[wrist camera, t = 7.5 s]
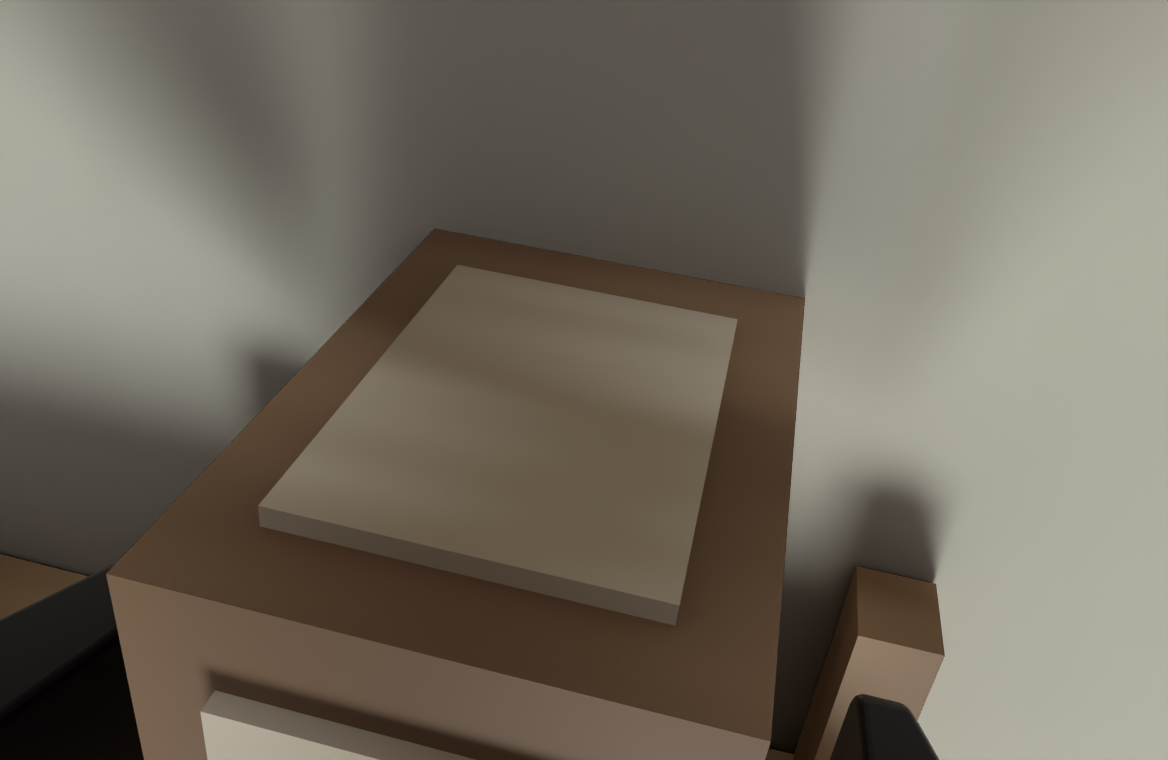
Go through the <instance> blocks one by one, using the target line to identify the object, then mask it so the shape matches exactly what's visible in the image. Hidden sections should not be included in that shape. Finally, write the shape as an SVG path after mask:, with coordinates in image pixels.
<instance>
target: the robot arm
mask: <svg viewBox="0 0 1168 760" xmlns="http://www.w3.org/2000/svg"><path fill="white" fill-rule="evenodd" d="M116 563H117V562H116ZM116 563H114V564H112V565H110V566H108V567H106V568H104V569H102V570H100V571H98V572H96V573H94V574H92V575H90V576H88V577H86V578H83V579H81V580H79V581H77V582H75V583H73V584H71V585H69V586H67V587H65V588H63V589H61V590H59V591H57V592H55V593H53V594H51V595H49V596H47V597H45V598H43V599H41V600H39V601H36V602H34V603H32V604H30V605H28V606H26V607H24V608H22V609H20V610H18V611H16V612H14V613H12V614H10V615H8V616H6V617H4V618H2V619H0V760H144V757H143V752H142V747H141V742H140V737H139V733H138V728H137V723H136V718H135V713H134V708H133V703H132V698H131V693H130V688H129V684H128V679H127V674H126V669H125V664H124V659H123V654H122V649H121V644H120V640H119V635H118V630H117V625H116V620H115V615H114V610H113V605H112V600H111V596H110V591H109V586H108V581H107V576H106V573H107V572H108V571H109V570H110V569H111V568H112V567H113V566H114V565H115V564H116ZM830 760H939V758H938V757H937V755H936V753H935V751H934V750H933V748H932V746H931V744H930V743H929V741H928V739H927V737H926V736H925V734H924V732H923V730H922V729H921V727H920V725H919V723H918V722H917V720H916V718H915V716H914V715H913V713H912V712H911V710H910V709H909V708H908V707H907V706H905V705H904V704H902V703H899V702H895V701H891V700H887V699H883V698H879V697H875V696H870V695H866V694H859V695H856V696H855V697H854V698H853V700H852V701H851V703H850V705H849V708H848V710H847V713H846V716H845V719H844V721H843V724H842V727H841V730H840V732H839V735H838V738H837V740H836V743H835V746H834V749H833V751H832V754H831V757H830Z"/></svg>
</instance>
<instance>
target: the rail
mask: <svg viewBox="0 0 1168 760" xmlns="http://www.w3.org/2000/svg"><path fill="white" fill-rule="evenodd" d="M86 577H88V576H85V575H81V574H77V573H73V572H69V571H65V570H61V569H57V568H53V567H49V566H45V565H41V564H37V563H33V562H30V561H26V560H22V559H18V558H14V557H10V556H6V555H2V554H0V619H2V618H4V617H6V616H8V615H10V614H12V613H14V612H16V611H18V610H20V609H22V608H24V607H26V606H28V605H30V604H32V603H34V602H36V601H39V600H41V599H43V598H45V597H47V596H49V595H51V594H53V593H55V592H57V591H59V590H61V589H63V588H65V587H67V586H69V585H71V584H73V583H75V582H77V581H79V580H81V579H83V578H86ZM944 656H945V655H944V646H943V638H942V630H941V622H940V614H939V605H938V597H937V589H936V584H934V583H929V582H925V581H920V580H916V579H911V578H907V577H903V576H898V575H894V574H889V573H885V572H880V571H876V570H871V569H867V568H863V567H858V566H857V567H856V570H855V573H854V576H853V579H852V582H851V585H850V588H849V591H848V594H847V597H846V600H845V603H844V606H843V609H842V612H841V615H840V618H839V621H838V624H837V627H836V630H835V633H834V636H833V639H832V642H831V645H830V648H829V651H828V654H827V657H826V660H825V663H824V666H823V669H822V672H821V675H820V678H819V681H818V684H817V687H816V690H815V693H814V696H813V699H812V702H811V705H810V708H809V711H808V714H807V717H806V720H805V723H804V726H803V729H802V732H801V735H800V738H799V741H798V744H797V746H796V749H795V752H794V754H790V753H786V752H782V751H778V750H774V749H770V748H769V749H768V752H767V756H766V759H765V760H830V757H831V754H832V751H833V749H834V746H835V743H836V740H837V738H838V735H839V732H840V730H841V727H842V724H843V721H844V719H845V716H846V713H847V710H848V708H849V705H850V703H851V701H852V700H853V698H854V697H855V696H856V695H859V694H866V695H870V696H875V697H879V698H883V699H887V700H891V701H895V702H899V703H902V704H904V705H905V706H907V707H908V708H909V709H910V710H911V712H912V713H913V715H914V716H915V718H916V720H918V718H919V715H920V713H921V710H922V708H923V706H924V703H925V701H926V699H927V696H928V694H929V692H930V689H931V687H932V684H933V682H934V680H935V677H936V675H937V673H938V670H939V668H940V666H941V663H942V661H943V659H944Z"/></svg>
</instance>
